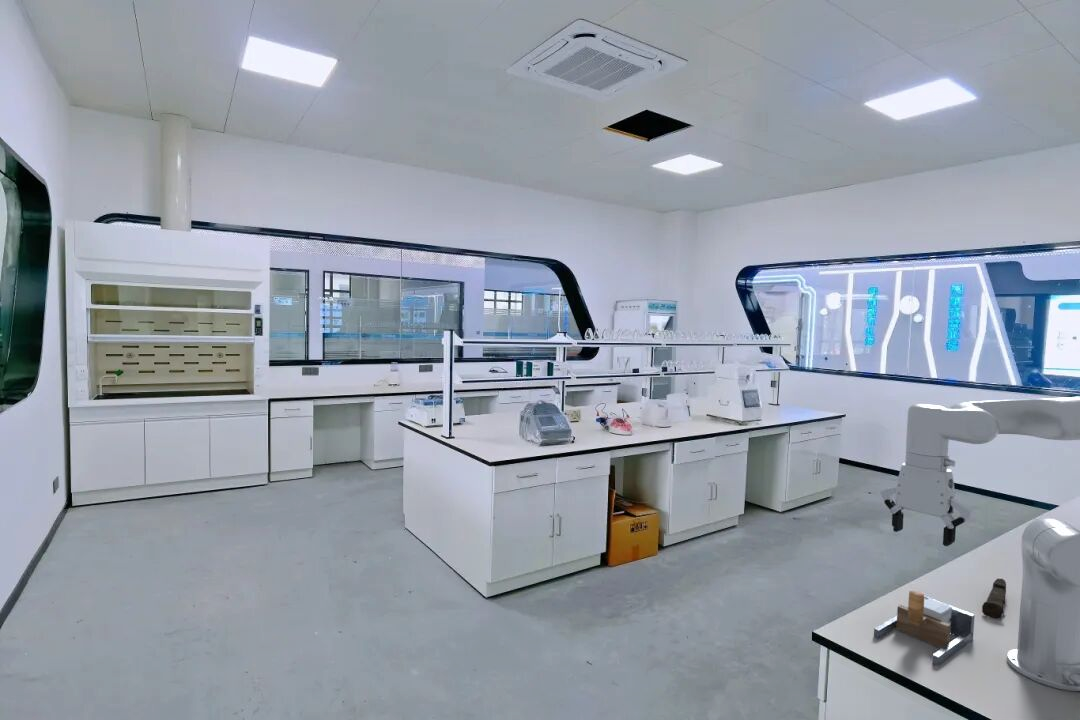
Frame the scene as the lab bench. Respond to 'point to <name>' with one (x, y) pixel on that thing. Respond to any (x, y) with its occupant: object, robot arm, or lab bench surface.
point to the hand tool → (995, 600)
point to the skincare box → (937, 610)
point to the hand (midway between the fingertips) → (922, 537)
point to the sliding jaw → (922, 622)
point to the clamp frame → (959, 627)
